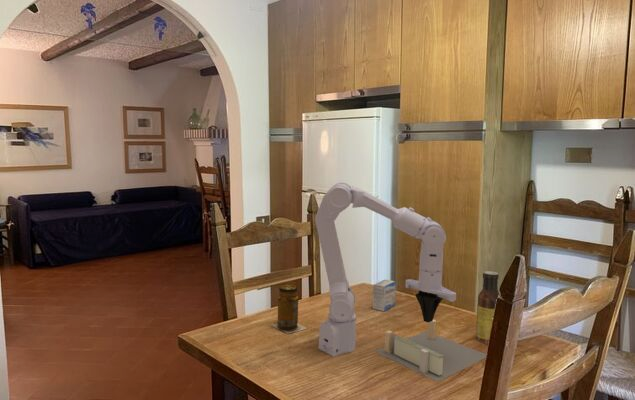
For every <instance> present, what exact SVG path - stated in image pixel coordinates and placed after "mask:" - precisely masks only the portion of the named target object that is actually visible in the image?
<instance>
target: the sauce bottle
mask: <svg viewBox="0 0 635 400" xmlns="http://www.w3.org/2000/svg"><path fill="white" fill-rule="evenodd" d="M482 278H483V279H482V280H483V281H482V289H481V291H479V293H478V295H477V305H476V306H477V308H476V327H475V336H476V337H475V338H476V340H477V341H478V342H480V343H482V344H484V345H485V344H486V345H489V344H488V341H489V336H490V330H491V325H492V318H493V315H494V309H495V304H496V299H497V297H498V295H500V293H499V288H498V280H499V272H496V271H493V270H492V271H491V270H490V271H489V270H487V271H483V273H482Z"/></svg>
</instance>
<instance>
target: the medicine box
mask: <svg viewBox="0 0 635 400" xmlns="http://www.w3.org/2000/svg"><path fill="white" fill-rule="evenodd" d="M396 285H397V284H396V281H394V280H391V279H383V280H381V281H378V282H376V283H374V284H373V287H372V309H373V310H376V311H380V312H386V311H388V310H390V309H391V308H393V307H395V305H396V289H397V288H396Z"/></svg>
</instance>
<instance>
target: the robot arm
mask: <svg viewBox="0 0 635 400" xmlns="http://www.w3.org/2000/svg"><path fill="white" fill-rule="evenodd" d="M351 204H352V208H353V209H355V208H366V209H368V210H370V211H372V212H375V213H376V214H379V215H380V216H382V217H384V218H386V219H389V220H391V221H392V224H393V227H394V228H395V229H397V230H399V231H401V232H403V233H405V234H407V235H409V236H411V237H413V238H415V239H421V245H420V251H419V265H418V266H419V267H418V269H419V270H418V280H415V279H412V278H410V279H405V288H406V289H407V288H408V289H413V290H416V291H418V293H416V294H415V299H417V301H418V304H419V307H420V310H421V314H422V319H423V321H424V322H425V323H428V322H431V321H433V320H434V317H435V315H436V311H437V309H438V307H439V305H440V304H441V301H442V300H447V301H448V302H455V301H457V292H454V291H452V290H451V289H448V288H446V287H444V286H443V284H442V282H443V267H444V266H443V265H444V264H443V263H444V244H445V243H446V241H447V239H448V238H447V236H446V235H447V234H446V231H445V229H444V228H443V226H441V224H440V223H438V222H436V221H435V220H432V218H431V217H429V216H427V217H425V216H423V215H421V214H419V213H418V212H415V208H413V207H409V208H407V207H405V206H403V207H400V208H396V207H394V206H392V205H391V204H389V203H388V202H386V201H384V200H382V199H380V198H379V197H377V196H374V195H373V194H371V193H369V192H367V191H366V190H363V189H361V188H358V187H355V186H353V185H352V186H351V185H349V184H348V183H346V182H337V183H335V184H333V186H332V187H330V189H328V191H326V193H325V194H324V195H323V196H322V199H321V202H320V205H319V207H318V210H317V212H316V215H315V217H314V219H315V221H314V222H315V226H316V231H317V235H318V239H319V244H320V249H321V253H322V257H323V262H324V266H325V272H326V277H327V280H328V281H327V282H328V285H329V289H328V290H329V297H330V304H329V313H328V317H327V319H326V320H324V321H322V322H321V323H320V325H319V328H318V349H319V350H320V351H322V352H324V353H326V354H328V355H330V356H332V357H336V356H339V355H341V354H347V353H351V352H353V351H355V349H356V333H357V330H356V329H357V328H356V327H357V315H356V314H355V304H356V295H355V293H354V292H353V291H352V289H351V287H350V284H349V280H348V279H347V274H346V270H345V264H344V261H343V256H342V252H341V247H340V242H339V238H338V233H337V228H336V224H335V221H336V220H337V218H338V216H339V215H340V213H342V212H343V211H345V210H346V209H347V208H349V207H350V205H351Z"/></svg>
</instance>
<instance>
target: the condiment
mask: <svg viewBox="0 0 635 400" xmlns="http://www.w3.org/2000/svg"><path fill="white" fill-rule="evenodd" d="M278 290H279V291H278V294H279V295H278V296H277V323H273V324H271V326H272V327H273V328H275V329H277V330H279V331H282V332H283V333H285V334H292V333H296V332H300V331H304V330H307V329H308V328H307V327H305V326H304V325H302V324H299V323H298V322H299V321H298V320H299V296H298V287H297V286H295V285H289V284H286V285H280V287H279V289H278Z"/></svg>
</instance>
